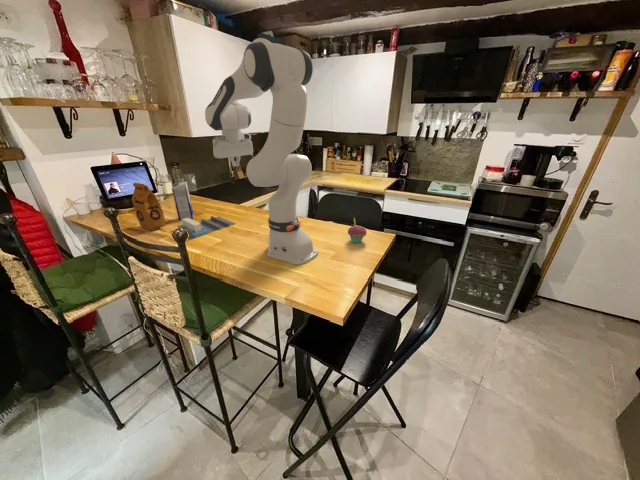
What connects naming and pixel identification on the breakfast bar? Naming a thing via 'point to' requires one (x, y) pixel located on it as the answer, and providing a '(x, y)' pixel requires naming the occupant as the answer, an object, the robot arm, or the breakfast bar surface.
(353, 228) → the cupcake
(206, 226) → the duct board
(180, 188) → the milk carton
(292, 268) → the breakfast bar surface
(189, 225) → the light grey block
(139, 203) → the coffee package
